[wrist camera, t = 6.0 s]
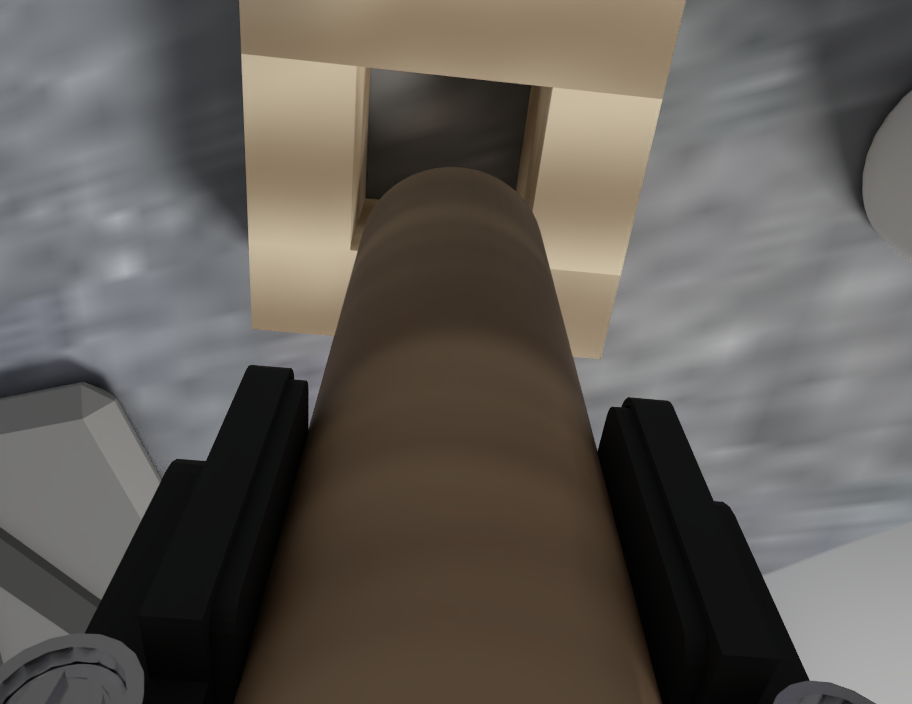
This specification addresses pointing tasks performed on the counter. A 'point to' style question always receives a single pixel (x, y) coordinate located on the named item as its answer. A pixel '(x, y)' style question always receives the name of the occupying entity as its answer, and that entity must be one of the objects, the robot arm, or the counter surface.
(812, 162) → the counter surface
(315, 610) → the walnut peg
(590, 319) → the eye block
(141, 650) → the robot arm
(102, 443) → the decorative plate
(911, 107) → the milk bottle
